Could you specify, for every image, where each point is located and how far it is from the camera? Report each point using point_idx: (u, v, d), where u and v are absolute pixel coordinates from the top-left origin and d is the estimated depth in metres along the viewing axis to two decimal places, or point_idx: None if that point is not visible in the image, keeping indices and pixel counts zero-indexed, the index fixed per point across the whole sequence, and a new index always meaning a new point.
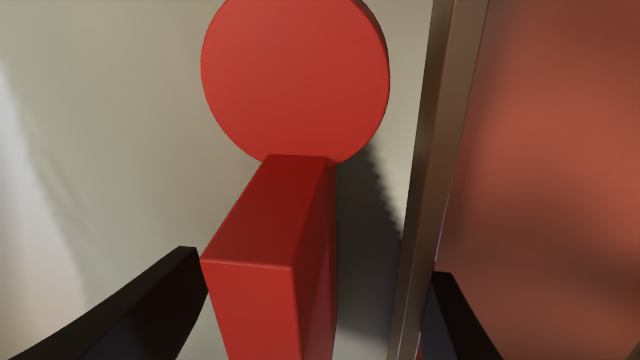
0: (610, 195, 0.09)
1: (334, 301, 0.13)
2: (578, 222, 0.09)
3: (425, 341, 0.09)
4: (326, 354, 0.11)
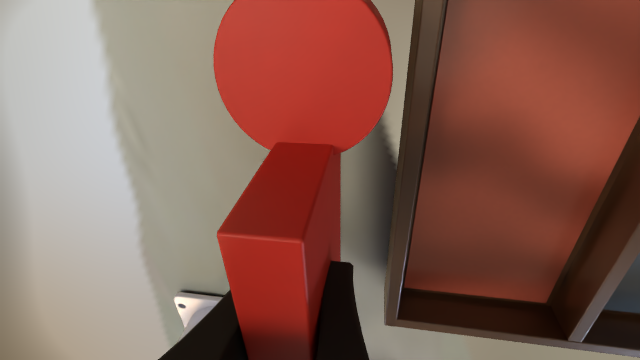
0: (542, 124, 0.12)
1: None
2: (522, 146, 0.13)
3: None
4: None
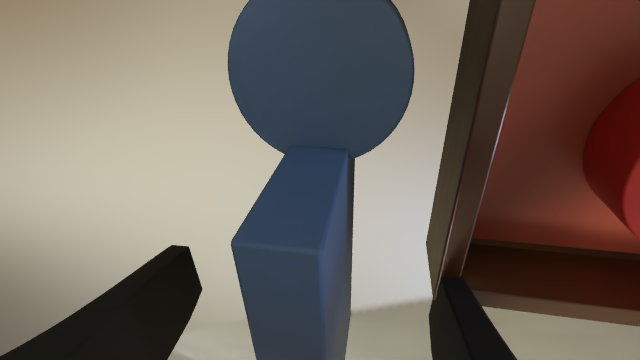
0: None
1: None
2: None
3: (435, 342, 0.09)
4: None
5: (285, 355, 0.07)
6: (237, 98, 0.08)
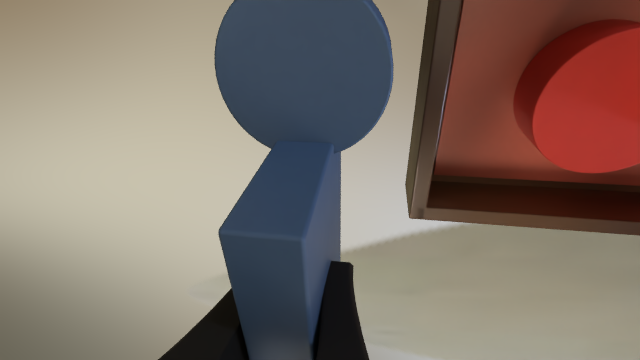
0: None
1: None
2: None
3: None
4: None
5: (273, 340, 0.07)
6: (224, 95, 0.08)
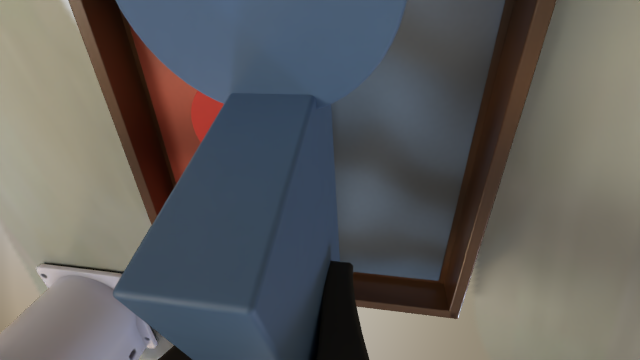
0: None
1: None
2: None
3: None
4: None
5: None
6: (133, 24, 0.05)
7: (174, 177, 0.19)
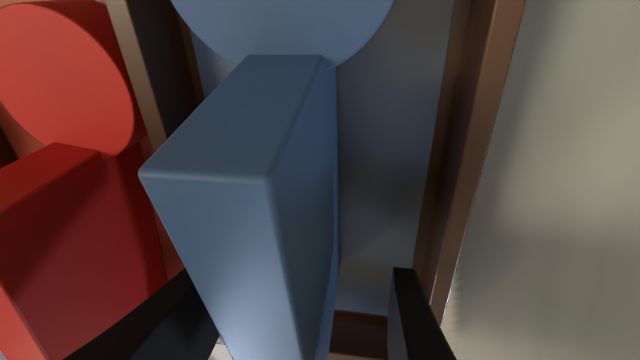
0: None
1: (154, 275, 0.15)
2: None
3: (389, 336, 0.09)
4: (120, 316, 0.13)
5: (246, 318, 0.05)
6: None
7: None
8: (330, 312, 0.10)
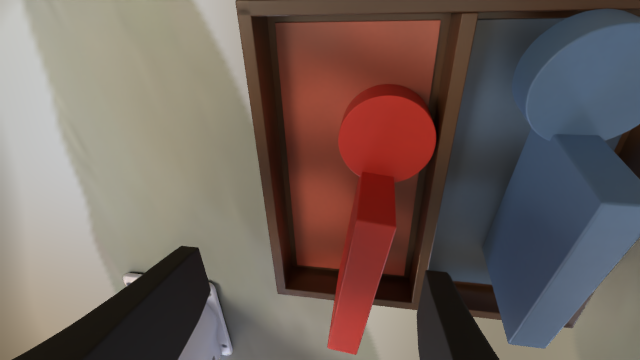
0: None
1: None
2: None
3: (422, 341, 0.09)
4: None
5: (583, 268, 0.11)
6: (529, 103, 0.12)
7: (289, 190, 0.20)
8: None
